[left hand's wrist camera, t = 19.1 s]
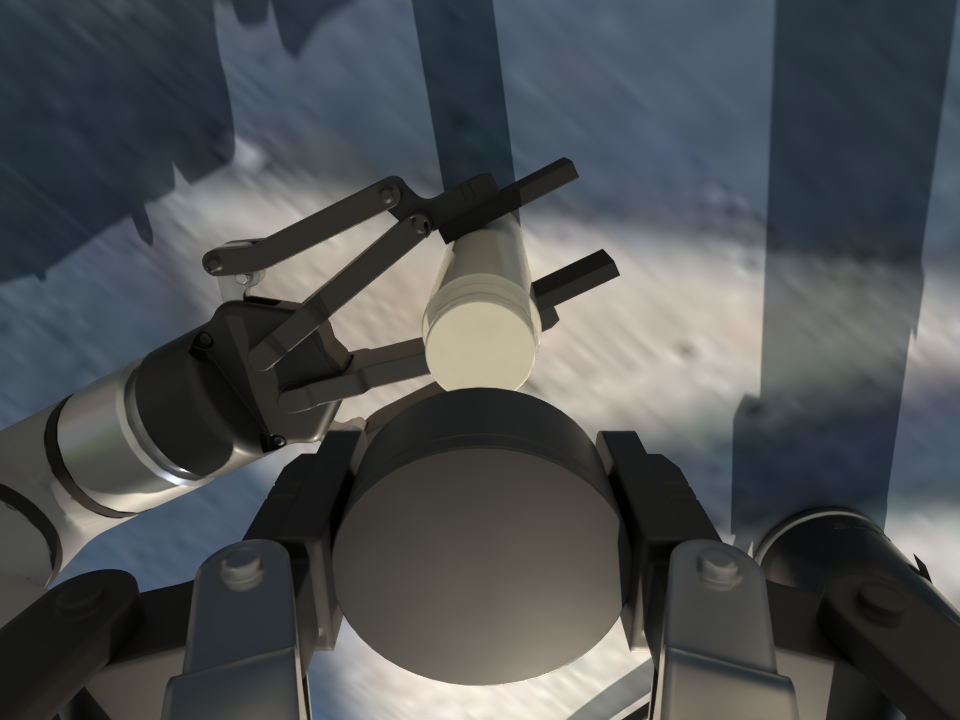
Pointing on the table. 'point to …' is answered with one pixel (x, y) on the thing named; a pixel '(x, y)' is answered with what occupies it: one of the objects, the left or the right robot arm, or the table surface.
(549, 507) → the lid
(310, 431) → the right robot arm
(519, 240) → the beige cylinder
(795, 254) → the table surface
